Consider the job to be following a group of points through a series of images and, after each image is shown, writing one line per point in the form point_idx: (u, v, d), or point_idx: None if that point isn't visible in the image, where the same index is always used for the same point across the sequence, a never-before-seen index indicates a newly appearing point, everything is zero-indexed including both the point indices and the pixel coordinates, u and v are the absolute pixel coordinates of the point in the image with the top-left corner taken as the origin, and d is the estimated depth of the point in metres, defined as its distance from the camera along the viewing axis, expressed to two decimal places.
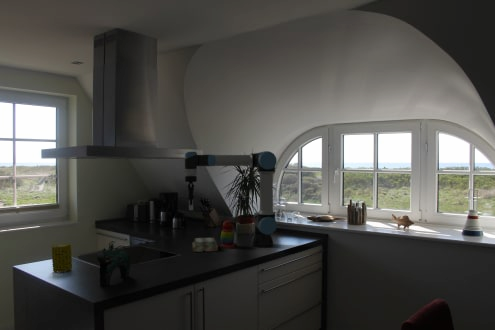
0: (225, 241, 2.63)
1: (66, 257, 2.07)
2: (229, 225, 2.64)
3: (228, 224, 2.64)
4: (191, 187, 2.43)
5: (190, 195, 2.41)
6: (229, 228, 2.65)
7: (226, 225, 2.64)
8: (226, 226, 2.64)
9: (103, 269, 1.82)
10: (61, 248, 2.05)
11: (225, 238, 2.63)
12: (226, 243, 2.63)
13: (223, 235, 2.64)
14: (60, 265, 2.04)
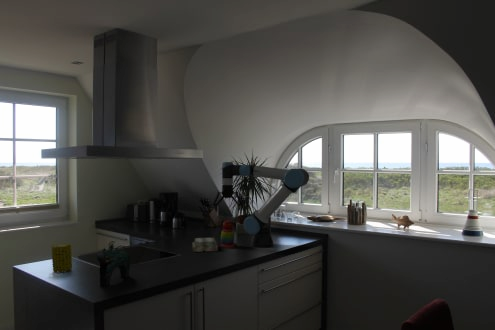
0: (225, 241, 2.63)
1: (66, 257, 2.07)
2: (229, 225, 2.64)
3: (228, 224, 2.64)
4: (217, 195, 2.66)
5: (213, 202, 2.66)
6: (229, 228, 2.65)
7: (226, 225, 2.64)
8: (226, 226, 2.64)
9: (103, 269, 1.82)
10: (61, 248, 2.05)
11: (225, 238, 2.63)
12: (226, 243, 2.63)
13: (223, 235, 2.64)
14: (60, 265, 2.04)
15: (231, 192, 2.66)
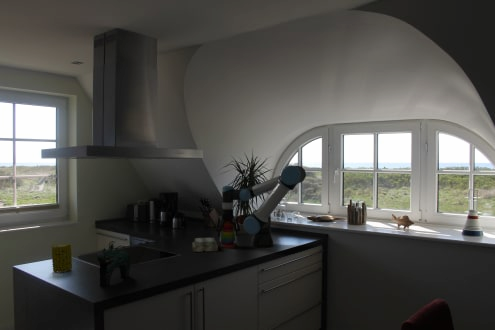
0: (225, 241, 2.63)
1: (66, 257, 2.07)
2: (229, 225, 2.64)
3: (228, 224, 2.64)
4: (218, 220, 2.66)
5: (216, 227, 2.66)
6: (229, 228, 2.65)
7: (226, 225, 2.64)
8: (226, 226, 2.64)
9: (103, 269, 1.82)
10: (61, 248, 2.05)
11: (225, 238, 2.63)
12: (226, 243, 2.63)
13: (223, 235, 2.64)
14: (60, 265, 2.04)
15: (231, 216, 2.66)
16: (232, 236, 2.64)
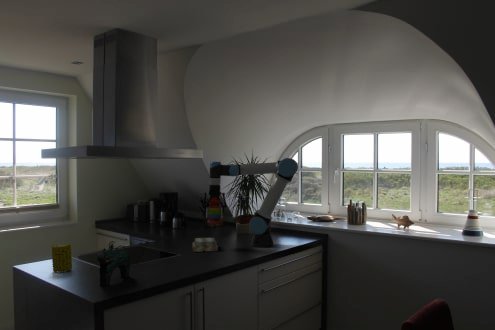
0: (211, 217, 2.60)
1: (66, 257, 2.07)
2: (216, 201, 2.61)
3: (215, 200, 2.61)
4: None
5: None
6: (216, 204, 2.61)
7: (213, 201, 2.61)
8: (213, 202, 2.61)
9: (103, 269, 1.82)
10: (61, 248, 2.05)
11: (211, 214, 2.60)
12: (212, 219, 2.60)
13: (209, 211, 2.61)
14: (60, 265, 2.04)
15: (218, 192, 2.63)
16: (218, 212, 2.61)
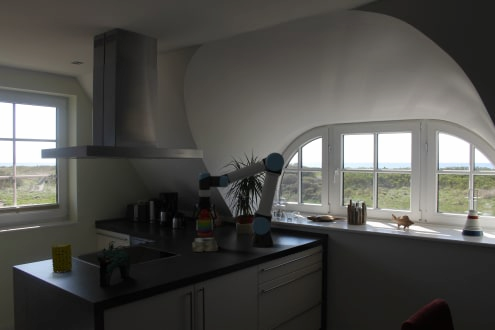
0: (202, 229, 2.57)
1: (66, 257, 2.07)
2: (206, 213, 2.58)
3: (205, 212, 2.58)
4: (194, 208, 2.59)
5: None
6: (206, 216, 2.58)
7: (203, 213, 2.58)
8: (203, 214, 2.58)
9: (103, 269, 1.82)
10: (61, 248, 2.05)
11: (202, 226, 2.56)
12: (203, 231, 2.57)
13: (200, 223, 2.57)
14: (60, 265, 2.04)
15: (208, 204, 2.60)
16: (209, 224, 2.58)
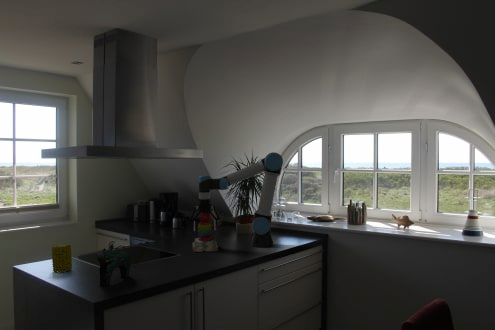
0: (202, 234, 2.57)
1: (66, 257, 2.07)
2: (206, 217, 2.58)
3: (205, 216, 2.58)
4: None
5: (190, 216, 2.59)
6: (206, 221, 2.58)
7: (203, 217, 2.58)
8: (203, 218, 2.58)
9: (103, 269, 1.82)
10: (61, 248, 2.05)
11: (202, 231, 2.56)
12: (203, 236, 2.57)
13: (200, 228, 2.57)
14: (60, 265, 2.04)
15: (208, 206, 2.60)
16: (209, 229, 2.58)
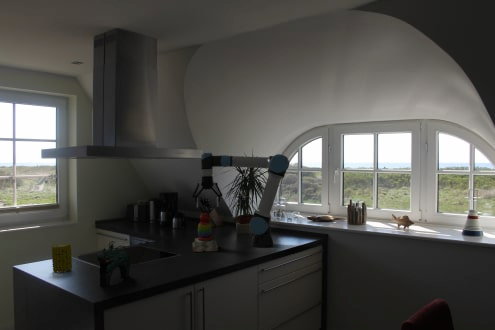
0: (202, 234, 2.57)
1: (66, 257, 2.07)
2: (206, 218, 2.58)
3: (205, 216, 2.58)
4: None
5: (193, 193, 2.63)
6: (206, 221, 2.58)
7: (203, 218, 2.58)
8: (203, 219, 2.58)
9: (103, 269, 1.82)
10: (61, 248, 2.05)
11: (202, 231, 2.56)
12: (203, 236, 2.57)
13: (200, 228, 2.57)
14: (60, 265, 2.04)
15: (211, 183, 2.63)
16: (209, 229, 2.58)
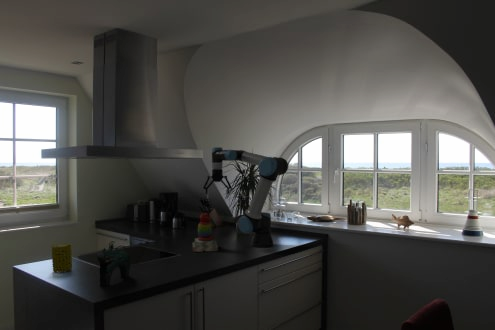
0: (202, 234, 2.57)
1: (66, 257, 2.07)
2: (206, 218, 2.58)
3: (205, 216, 2.58)
4: (207, 179, 2.78)
5: (204, 185, 2.79)
6: (206, 221, 2.58)
7: (203, 218, 2.58)
8: (203, 219, 2.58)
9: (103, 269, 1.82)
10: (61, 248, 2.05)
11: (202, 231, 2.56)
12: (203, 236, 2.57)
13: (200, 228, 2.57)
14: (60, 265, 2.04)
15: (221, 176, 2.79)
16: (209, 229, 2.58)
